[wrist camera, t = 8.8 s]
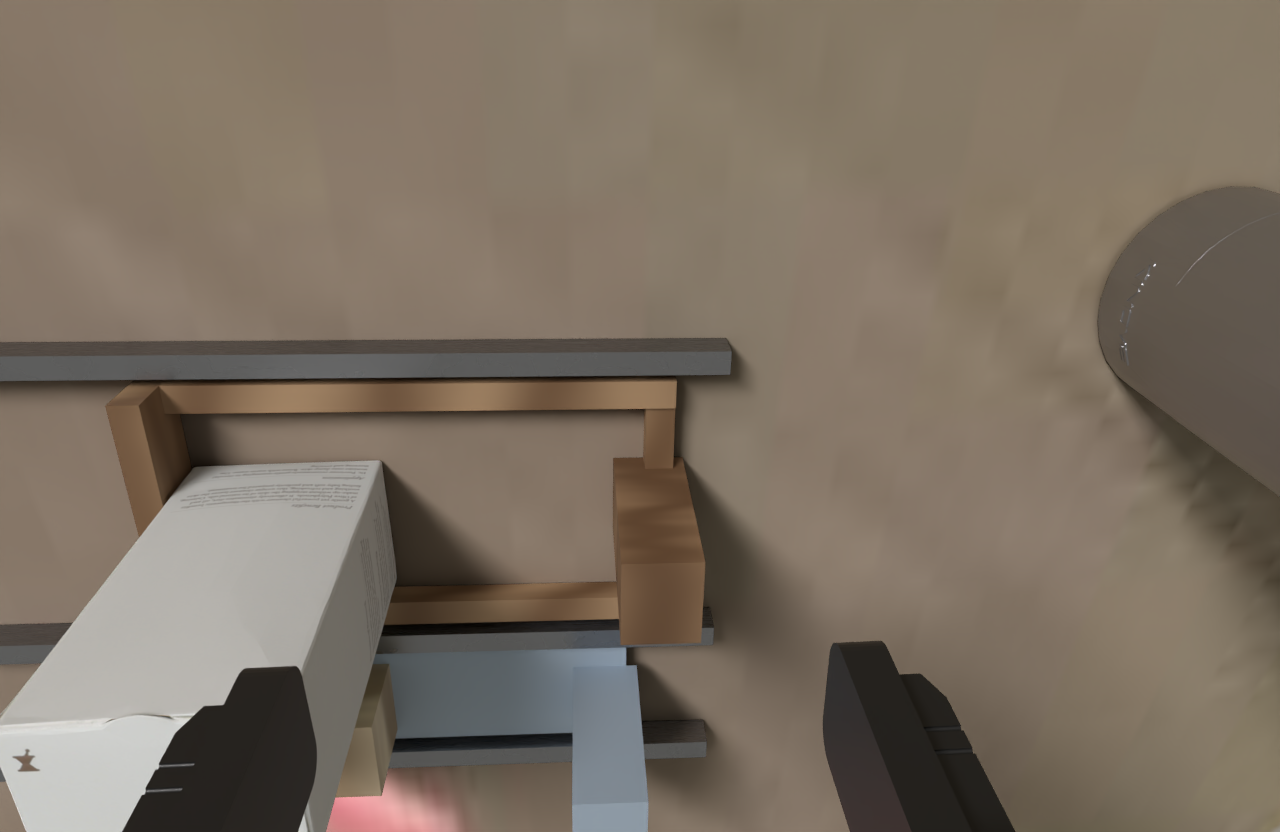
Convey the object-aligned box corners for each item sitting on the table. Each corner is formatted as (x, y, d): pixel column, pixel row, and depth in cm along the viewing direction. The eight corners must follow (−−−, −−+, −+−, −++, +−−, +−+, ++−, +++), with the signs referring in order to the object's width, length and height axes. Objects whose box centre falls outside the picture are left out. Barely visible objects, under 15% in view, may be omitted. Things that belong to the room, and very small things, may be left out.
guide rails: (726, 338, 37) (731, 351, 36) (702, 734, 47) (705, 757, 45) (-145, 343, 35) (-174, 357, 34) (10, 757, 45) (-7, 781, 43)
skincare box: (218, 583, 41) (31, 896, 27) (188, 453, 38) (-38, 727, 24) (406, 578, 42) (319, 882, 28) (391, 450, 39) (285, 716, 25)
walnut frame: (685, 370, 38) (711, 461, 31) (676, 601, 43) (696, 726, 36) (140, 374, 37) (32, 470, 29) (196, 613, 42) (116, 745, 34)
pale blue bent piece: (635, 633, 44) (648, 781, 36) (634, 715, 46) (646, 873, 38) (239, 643, 43) (159, 799, 34) (257, 727, 45) (186, 893, 37)
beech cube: (389, 663, 42) (371, 727, 39) (397, 728, 44) (381, 795, 40) (301, 666, 42) (275, 730, 38) (312, 731, 44) (289, 798, 40)
